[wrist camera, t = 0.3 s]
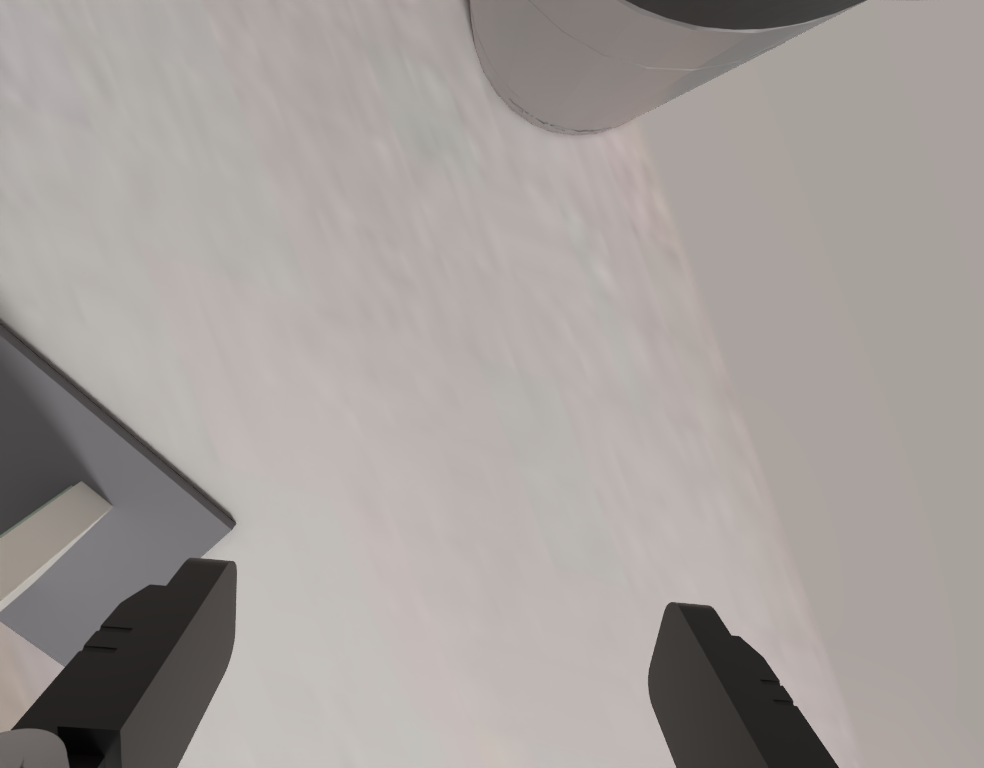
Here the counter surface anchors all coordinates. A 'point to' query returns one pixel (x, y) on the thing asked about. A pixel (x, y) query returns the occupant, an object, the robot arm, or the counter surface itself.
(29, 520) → the cream white block
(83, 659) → the robot arm
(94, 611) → the rubber mat
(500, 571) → the counter surface
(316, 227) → the counter surface
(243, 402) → the counter surface
